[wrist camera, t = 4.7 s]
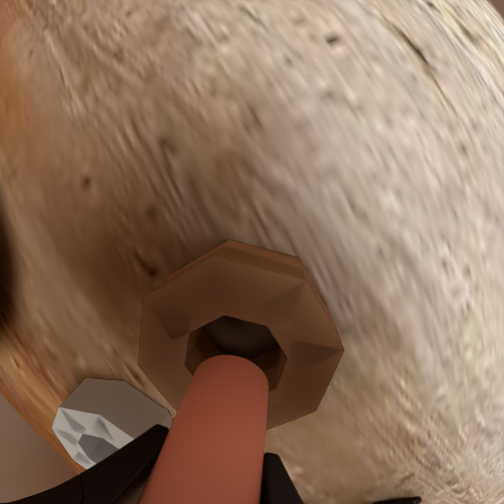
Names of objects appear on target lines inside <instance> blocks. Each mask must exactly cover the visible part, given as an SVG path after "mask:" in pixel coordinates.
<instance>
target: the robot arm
mask: <svg viewBox="0 0 504 504" xmlns="http://www.w3.org/2000/svg"><path fill="white" fill-rule="evenodd" d="M168 432H169V428H168V427H165V426H162V425H160V424H156V425H154V426H153V427H151V428H150V429H148V430H147V431H145V432H144V433H142V434H141V435H140V436H138V437H137V438H135V439H134V440H132V441H131V442H129V443H128V444H126V445H125V446H123V447H122V448H120V449H119V450H117V451H116V452H114V453H112V454H111V455H109V456H108V457H106V458H105V459H103V460H101V461H100V462H98V463H97V464H95V465H93V466H92V467H90V468H88V469H87V470H85V471H84V472H82V473H80V475H77V476H75V477H73V478H72V479H70V480H68V481H66V482H64V483H62V484H60V485H58V486H56V487H53V488H51V489H49V490H46V491H44V492H41V493H38V494H35V495H32V496H29V497H26V498H23V499H20V500H17V501H13V502H8V503H0V504H137V502H138V499H139V497H140V495H141V492H142V490H143V488H144V486H145V483H146V481H147V479H148V477H149V474H150V472H151V470H152V468H153V465H154V463H155V461H156V459H157V456H158V454H159V452H160V450H161V447H162V445H163V443H164V441H165V438H166V436H167V434H168ZM421 501H422V499H421V498H413V499H406V500H398V501H388V502H378V503H375V504H419V503H420V502H421ZM260 504H304V503H303V501H302V499H301V497H300V495H299V494H298V492H297V490H296V488H295V486H294V484H293V482H292V480H291V479H290V477H289V475H288V473H287V471H286V469H285V467H284V465H283V463H282V461H281V459H280V457H279V456H278V455H277V454H274V453H268V452H267V453H265V454H264V462H263V474H262V486H261V498H260Z"/></svg>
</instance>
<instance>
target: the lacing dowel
mask: <svg viewBox="0 0 504 504" xmlns="http://www.w3.org/2000/svg"><path fill="white" fill-rule="evenodd" d="M268 390H269V386H268V380H267V378H266V376H265V374H264V373H263V371H262V370H261V369H260V368H259V367H258V366H257V365H255V364H254V363H253V362H251V361H249V360H247V359H244V358H242V357H238V356H233V355H219V356H215V357H211V358H209V359H207V360H205V361H204V362H202V363H201V364H200V365H199V366H198V368H197V369H196V371H195V373H194V375H193V378H192V380H191V382H190V384H189V386H188V389H187V391H186V393H185V395H184V398H183V400H182V402H181V404H180V407H179V409H178V411H177V413H176V416H175V418H174V420H173V422H172V425H171V427H170V429H169V432H168V434H167V436H166V438H165V441H164V443H163V445H162V447H161V450H160V452H159V454H158V456H157V459H156V461H155V463H154V465H153V468H152V470H151V472H150V474H149V477H148V479H147V481H146V483H145V486H144V488H143V490H142V492H141V495H140V497H139V499H138V502H137V504H260V498H261V486H262V474H263V462H264V449H265V435H266V421H267V406H268Z"/></svg>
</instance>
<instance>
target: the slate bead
mask: <svg viewBox="0 0 504 504" xmlns="http://www.w3.org/2000/svg"><path fill="white" fill-rule="evenodd" d="M172 422H173V421H172V419H171V416H170V414H169V411H168V410H166V409H165V408H163V407H162V406H160V405H159V404H157V403H156V402H154V401H153V400H151V399H150V398H148V397H147V396H145V395H144V394H142V393H141V392H139V391H138V390H137V389H135V388H134V387H132V386H131V385H130V384H128V383H127V382H126V381H118V380H105V379H94V378H85V379H84V381H83V382H82V383H81V384H80V385H79V386H78V387H77V388H76V389H75V390H74V391H73V392H72V393H71V395H70V396H69V397H68V398H67V399H66V400H65V401H64V402H63V403H62V404H61V405H60V407H59V409H58V412H57V415H56V417H55V420H54V423H53V426H52V429H53V430H54V432H55V434H56V435H57V437H58V438H59V440H60V441H61V443H62V444H63V446H64V447H65V449H66V450H67V452H68V453H69V454H70V456H71V457H72V459H73V460H75V461H76V462H77V463H79V464H80V465H81V466H83V467H84V468H86V469H88V468H90V467H92V466H93V465H95V464H97V463H98V462H100V461H101V460H103V459H105V458H106V457H108V456H109V455H111V454H112V453H114V452H116V451H117V450H119V449H120V448H122V447H123V446H125V445H126V444H128V443H129V442H131V441H132V440H134V439H135V438H137V437H138V436H140V435H141V434H142V433H144V432H145V431H147V430H148V429H150V428H151V427H153V426H154V425H156V424H160V425H162V426H165V427H168V428H169V429H170V427H171V425H172Z"/></svg>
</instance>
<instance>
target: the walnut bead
mask: <svg viewBox="0 0 504 504" xmlns="http://www.w3.org/2000/svg"><path fill="white" fill-rule="evenodd" d="M223 315H226V316H230V317H234V318H238V319H241V320H245V321H249V322H253V323H257V324H261V325H265V326H267V327H268V328H269V330H270V331H271V333H272V334H273V336H274V338H275V339H276V341H277V342H278V346H277V347H276V348H274V349H272V350H270V351H268V352H266V353H264V354H262V355H260V356H257V357H255V358H253V359H251V360H249V359H247V360H249V361H251V362H253V363H254V364H255V365H257V366H258V367H259V368H260V369H261V370H262V371H263V373H264V374H265V376H266V378H267V380H268V386H269V390H268V406H267V421H266V430H268V429H271V428H274V427H276V426H279V425H282V424H284V423H287V422H290V421H292V420H295V419H297V418H300V417H302V416H305V415H307V414H310V413H312V412H314V411H316V409H317V408H318V406H319V404H320V402H321V399H322V397H323V395H324V393H325V391H326V389H327V387H328V385H329V383H330V381H331V379H332V376H333V374H334V372H335V370H336V368H337V365H338V363H339V361H340V359H341V356H342V354H343V352H344V348H343V345H342V343H341V340H340V338H339V335H338V332H337V330H336V327H335V325H334V322H333V320H332V317H331V315H330V313H329V311H328V309H327V307H326V306H325V304H324V302H323V300H322V298H321V297H320V295H319V293H318V291H317V289H316V288H315V286H314V284H313V282H312V281H311V279H310V277H309V275H308V273H307V272H306V270H305V268H304V266H303V265H302V263H301V261H300V260H299V258H298V257H295V256H291V255H287V254H283V253H279V252H275V251H272V250H268V249H264V248H260V247H256V246H252V245H248V244H244V243H240V242H236V241H233V240H227V241H225V242H224V243H222V244H220V245H219V246H217V247H215V248H214V249H212V250H210V251H209V252H207V253H205V254H204V255H202V256H201V257H199V258H197V259H196V260H194V261H192V262H191V263H189V264H187V265H186V266H184V267H183V268H181V269H179V270H178V271H176V272H174V273H173V274H171V275H170V276H169V277H168V278H167V279H166V280H164V281H163V282H162V283H161V284H160V285H159V286H157V287H156V288H155V289H154V290H153V291H152V292H151V293H149V294H148V295H147V296H146V297H145V298H144V301H143V310H142V320H141V331H140V343H139V356H138V366H139V367H140V368H141V370H142V371H143V372H144V373H145V375H146V376H147V377H148V378H149V380H150V381H151V382H152V383H153V385H154V386H155V387H156V388H157V389H158V391H159V392H160V393H161V394H162V395H163V396H164V398H165V399H166V400H167V401H168V402H169V403H170V404H171V406H172V407H173V408H174V409H175V410H176V411H178V409H179V407H180V404H181V402H182V400H183V398H184V395H185V393H186V391H187V389H188V386H189V384H190V382H191V380H192V378H193V375H194V373H195V371H196V369H197V368H198V366H199V365H200V364H201V363H202V362H204V361H205V360H207V359H209V358H211V357H215V356H219V355H229V354H225V353H222V352H220V351H219V350H218V348H217V347H216V346H215V344H214V343H213V341H212V340H211V339H210V337H209V336H208V334H207V333H206V332H205V330H204V329H203V326H204V325H206V324H208V323H209V322H211V321H213V320H215V319H217V318H219V317H221V316H223ZM244 359H245V358H244Z"/></svg>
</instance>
